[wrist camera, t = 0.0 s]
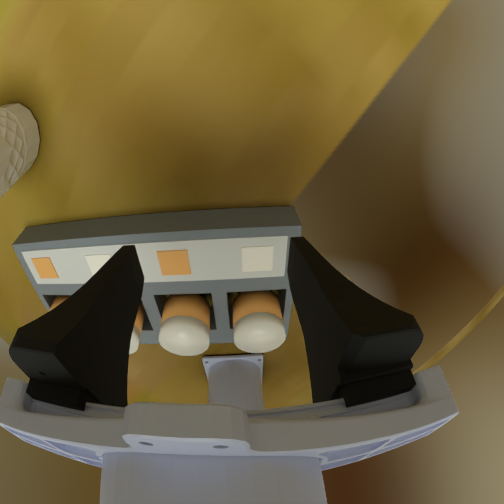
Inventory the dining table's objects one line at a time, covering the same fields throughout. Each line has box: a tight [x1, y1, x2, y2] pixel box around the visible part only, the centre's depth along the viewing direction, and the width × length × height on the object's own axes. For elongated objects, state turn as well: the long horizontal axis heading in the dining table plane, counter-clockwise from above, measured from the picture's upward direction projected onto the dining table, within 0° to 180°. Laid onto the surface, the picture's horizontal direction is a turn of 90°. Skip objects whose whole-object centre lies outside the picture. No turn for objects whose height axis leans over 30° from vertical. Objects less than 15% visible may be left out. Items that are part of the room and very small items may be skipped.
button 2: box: [159, 294, 210, 356], centre depth 25 cm, size 4×4×4 cm
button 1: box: [232, 290, 286, 353], centre depth 25 cm, size 4×4×4 cm
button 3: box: [129, 303, 145, 354], centre depth 24 cm, size 4×4×4 cm
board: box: [12, 206, 302, 344], centre depth 25 cm, size 14×26×3 cm, turn 90°
